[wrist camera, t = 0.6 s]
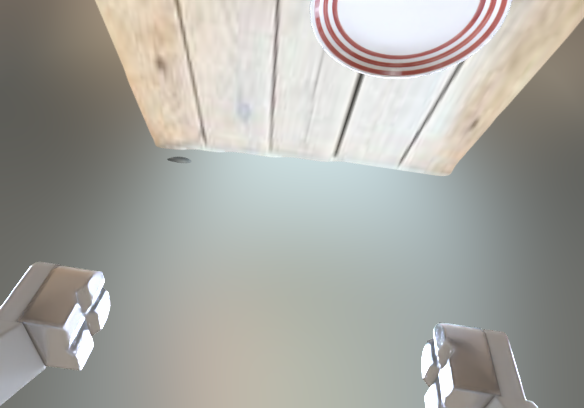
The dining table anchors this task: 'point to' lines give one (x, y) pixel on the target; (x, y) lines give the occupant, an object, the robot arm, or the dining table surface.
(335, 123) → the dining table surface
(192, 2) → the dining table surface
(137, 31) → the dining table surface
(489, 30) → the dinner plate
